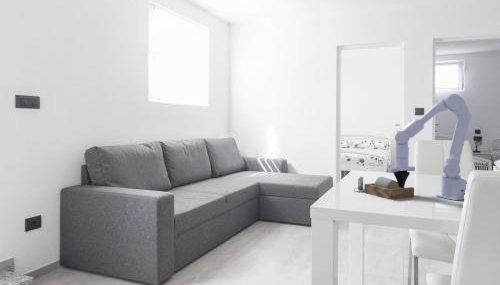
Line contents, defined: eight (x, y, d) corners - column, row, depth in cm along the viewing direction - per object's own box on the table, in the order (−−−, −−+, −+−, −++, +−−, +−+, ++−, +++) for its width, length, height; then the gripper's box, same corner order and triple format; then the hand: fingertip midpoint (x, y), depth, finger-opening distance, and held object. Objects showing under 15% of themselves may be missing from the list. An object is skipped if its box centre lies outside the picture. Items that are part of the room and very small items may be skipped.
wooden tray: (414, 196, 158) (414, 187, 158) (389, 199, 153) (390, 190, 153) (387, 190, 173) (387, 182, 173) (364, 192, 168) (364, 184, 168)
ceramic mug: (388, 197, 158) (388, 179, 158) (373, 193, 165) (374, 177, 165) (404, 195, 163) (405, 178, 163) (390, 192, 170) (390, 175, 170)
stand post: (369, 191, 170) (370, 177, 170) (359, 192, 168) (359, 178, 168) (361, 189, 176) (361, 175, 176) (351, 190, 174) (351, 176, 173)
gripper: (406, 156, 171) (406, 184, 172) (382, 157, 166) (382, 187, 167) (419, 157, 165) (418, 187, 166) (394, 158, 159) (393, 189, 160)
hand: (401, 187), depth 166 cm, fingers closed
